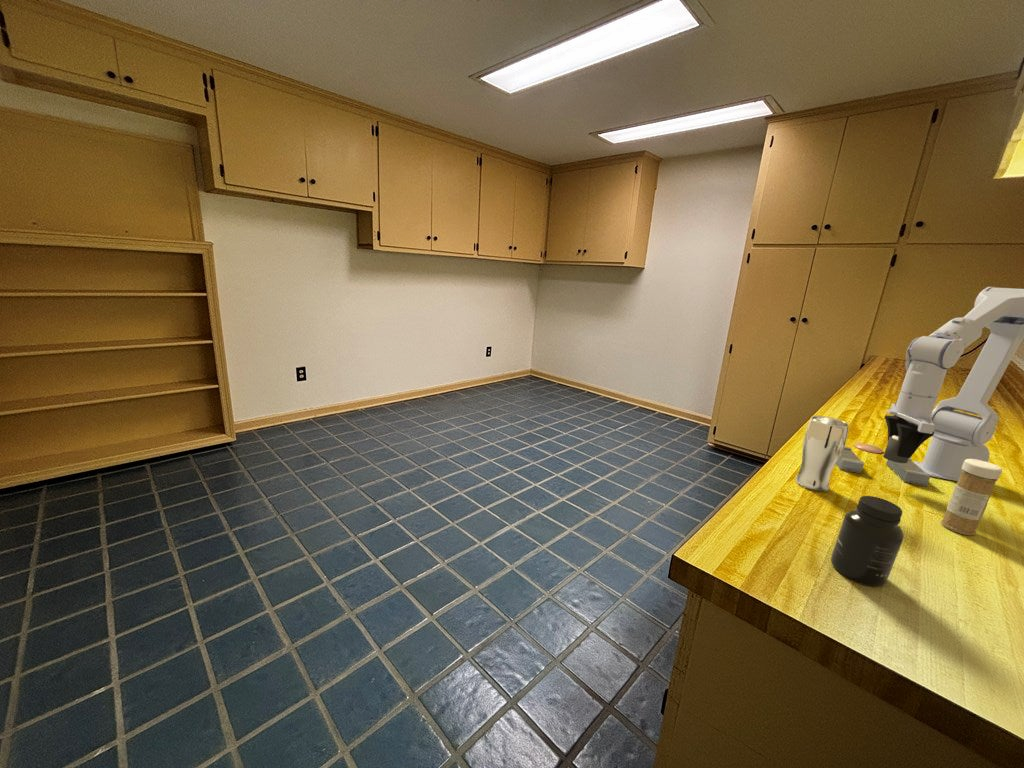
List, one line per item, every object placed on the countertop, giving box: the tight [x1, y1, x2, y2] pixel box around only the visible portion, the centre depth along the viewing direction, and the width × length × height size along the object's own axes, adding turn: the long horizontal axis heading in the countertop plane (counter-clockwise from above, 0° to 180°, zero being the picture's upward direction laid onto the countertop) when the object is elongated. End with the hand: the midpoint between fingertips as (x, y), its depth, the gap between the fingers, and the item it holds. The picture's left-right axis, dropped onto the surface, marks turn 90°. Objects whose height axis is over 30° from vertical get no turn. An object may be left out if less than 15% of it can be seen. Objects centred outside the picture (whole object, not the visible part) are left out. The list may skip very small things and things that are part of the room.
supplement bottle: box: [830, 495, 905, 587], centre depth 61 cm, size 7×7×12 cm
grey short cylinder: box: [882, 436, 909, 463], centre depth 90 cm, size 4×4×5 cm
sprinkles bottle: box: [940, 459, 1003, 536], centre depth 74 cm, size 5×5×14 cm
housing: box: [835, 446, 932, 488], centre depth 99 cm, size 16×10×3 cm, turn 67°
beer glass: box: [794, 415, 851, 493], centre depth 88 cm, size 7×7×15 cm
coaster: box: [853, 442, 883, 454], centre depth 112 cm, size 6×6×1 cm
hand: (898, 452), depth 90 cm, fingers closed on grey short cylinder, 4 cm apart
